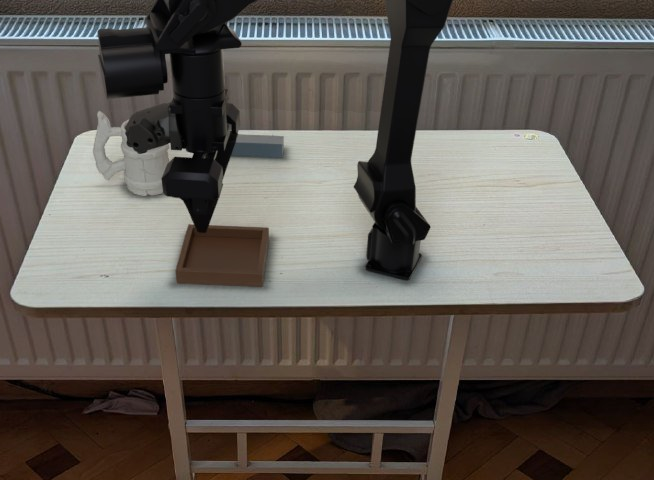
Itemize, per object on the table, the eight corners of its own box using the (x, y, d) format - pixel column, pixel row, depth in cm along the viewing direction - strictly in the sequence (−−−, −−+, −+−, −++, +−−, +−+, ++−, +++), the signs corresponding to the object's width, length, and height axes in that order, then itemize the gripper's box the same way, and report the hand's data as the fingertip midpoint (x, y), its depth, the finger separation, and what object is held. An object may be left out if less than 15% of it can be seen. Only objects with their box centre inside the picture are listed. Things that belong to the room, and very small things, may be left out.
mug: (174, 196, 129) (166, 122, 120) (96, 198, 128) (82, 124, 119) (175, 172, 134) (167, 100, 126) (100, 174, 133) (88, 101, 125)
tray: (262, 287, 112) (262, 274, 111) (176, 283, 112) (175, 270, 111) (269, 239, 121) (268, 227, 119) (189, 236, 121) (188, 224, 119)
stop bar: (282, 158, 139) (282, 144, 137) (210, 155, 139) (209, 141, 137) (283, 149, 141) (283, 135, 139) (213, 146, 141) (212, 132, 139)
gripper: (145, 51, 99) (159, 171, 110) (105, 121, 85) (126, 250, 96) (238, 56, 98) (242, 176, 109) (213, 127, 85) (221, 256, 96)
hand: (208, 212), depth 103 cm, fingers open, 9 cm apart
